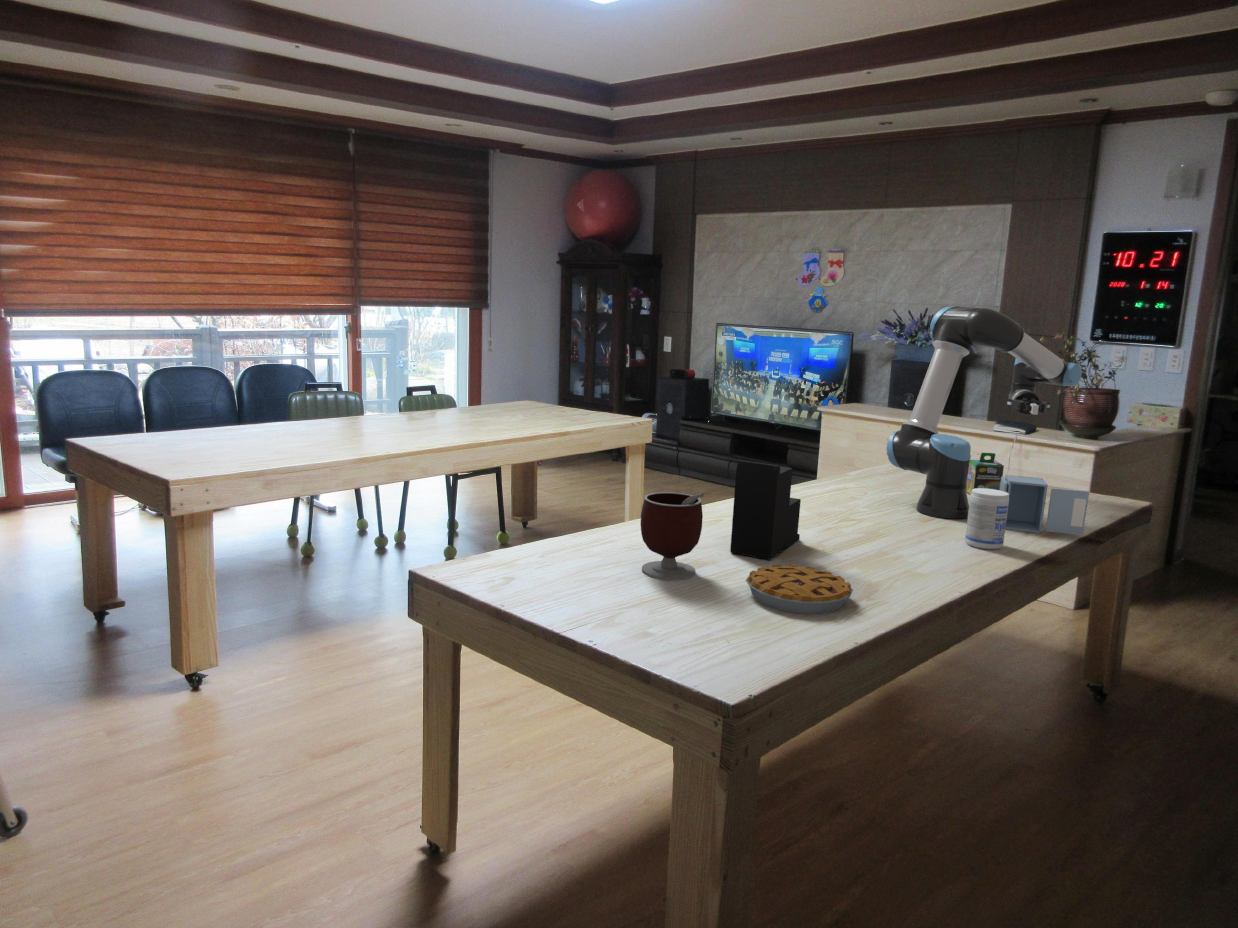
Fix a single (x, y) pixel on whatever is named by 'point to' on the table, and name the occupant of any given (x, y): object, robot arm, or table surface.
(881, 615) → the table surface
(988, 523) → the supplement tub
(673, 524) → the mate gourd
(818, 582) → the pie
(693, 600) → the table surface
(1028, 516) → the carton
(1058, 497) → the right flap
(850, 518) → the table surface
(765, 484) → the black stepped block
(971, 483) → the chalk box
